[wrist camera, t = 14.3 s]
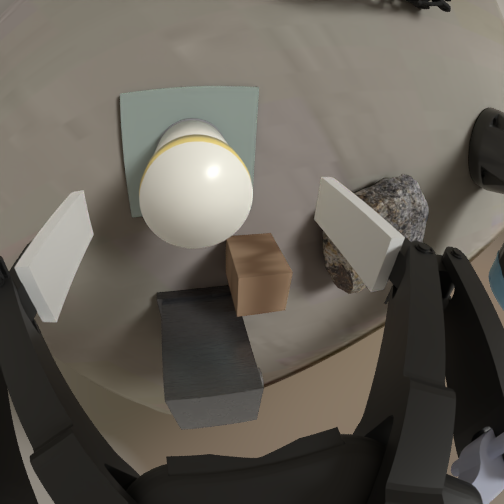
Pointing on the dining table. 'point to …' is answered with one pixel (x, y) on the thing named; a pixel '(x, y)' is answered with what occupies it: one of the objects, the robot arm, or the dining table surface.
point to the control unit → (207, 359)
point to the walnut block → (257, 274)
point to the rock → (394, 211)
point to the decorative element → (431, 4)
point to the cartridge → (195, 186)
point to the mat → (177, 108)
